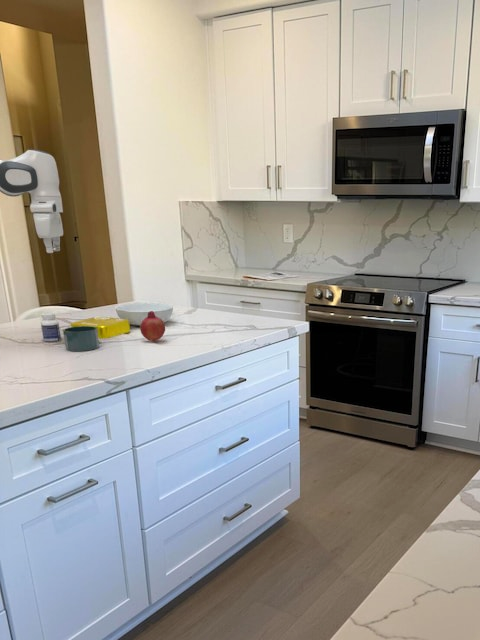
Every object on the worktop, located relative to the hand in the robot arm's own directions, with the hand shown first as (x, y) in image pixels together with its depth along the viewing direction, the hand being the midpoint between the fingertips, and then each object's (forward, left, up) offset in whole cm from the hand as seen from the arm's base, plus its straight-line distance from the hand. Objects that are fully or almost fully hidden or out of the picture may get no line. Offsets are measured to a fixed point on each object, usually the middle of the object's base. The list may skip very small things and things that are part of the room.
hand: (53, 251), depth 197 cm
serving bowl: (+33, +5, -29) cm, 44 cm away
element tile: (+12, -1, -28) cm, 31 cm away
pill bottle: (-7, -5, -29) cm, 30 cm away
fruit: (+19, -24, -29) cm, 42 cm away
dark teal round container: (-3, -18, -28) cm, 34 cm away
